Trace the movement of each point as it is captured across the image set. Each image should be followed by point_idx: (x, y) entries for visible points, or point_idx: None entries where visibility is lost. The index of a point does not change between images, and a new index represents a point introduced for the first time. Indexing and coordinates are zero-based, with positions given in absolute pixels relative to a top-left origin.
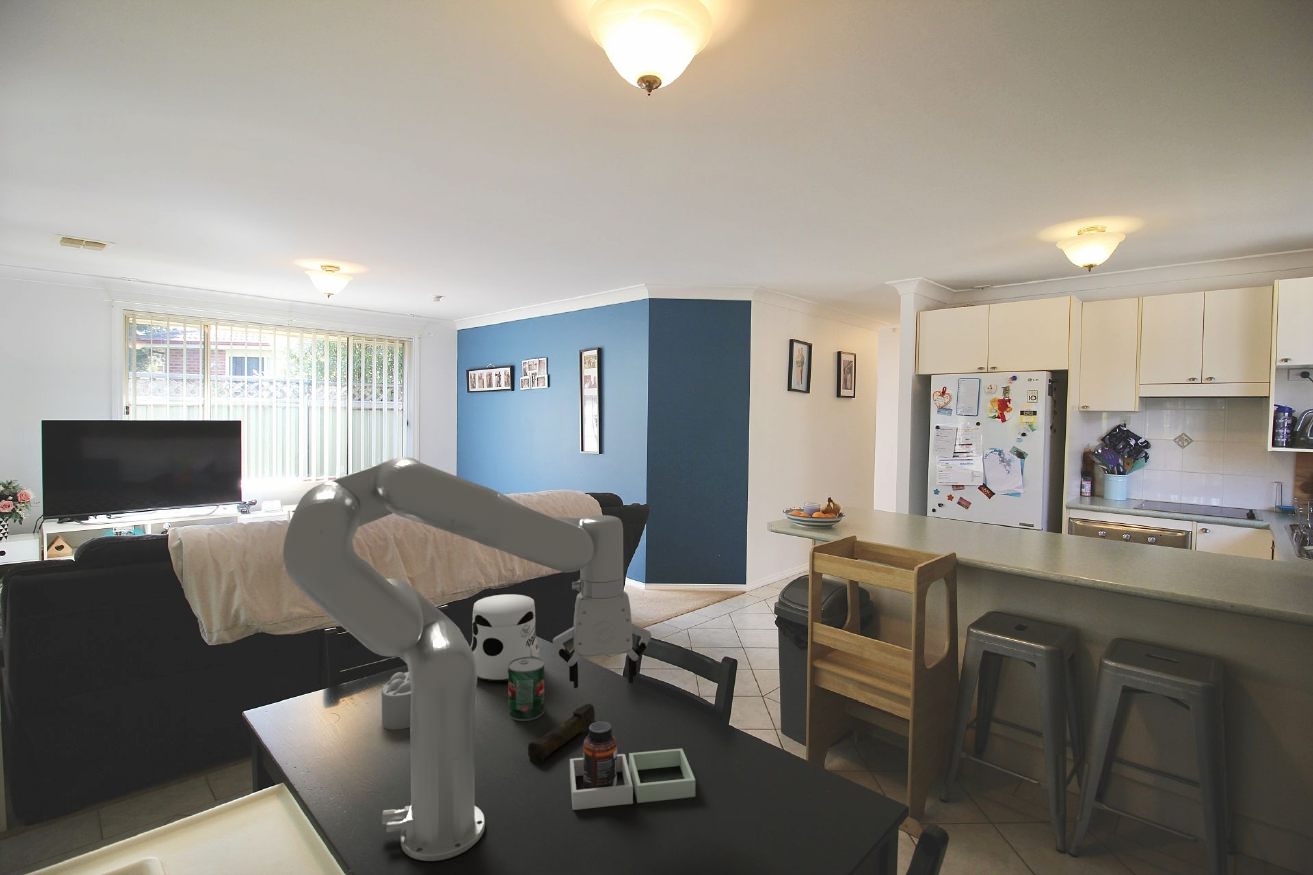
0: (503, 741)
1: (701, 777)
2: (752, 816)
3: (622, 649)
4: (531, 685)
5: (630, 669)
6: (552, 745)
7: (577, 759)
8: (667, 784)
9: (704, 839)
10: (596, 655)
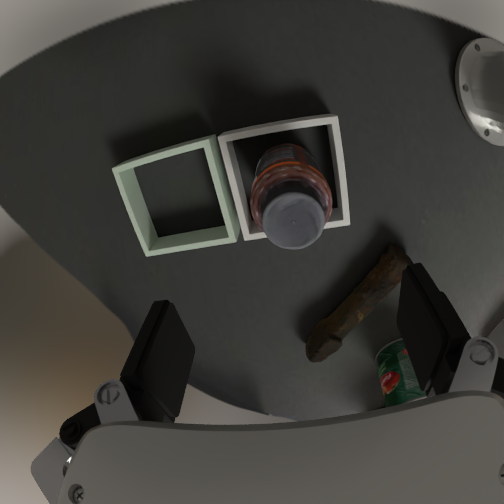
0: None
1: (123, 209)
2: (57, 130)
3: (125, 443)
4: (407, 380)
5: (144, 343)
6: (376, 273)
7: (335, 222)
8: (156, 153)
9: (109, 66)
10: (349, 415)
